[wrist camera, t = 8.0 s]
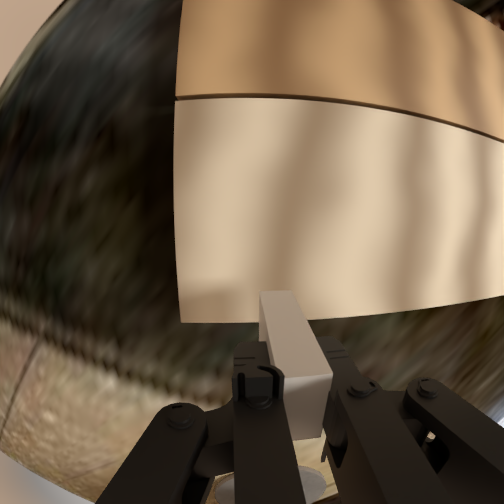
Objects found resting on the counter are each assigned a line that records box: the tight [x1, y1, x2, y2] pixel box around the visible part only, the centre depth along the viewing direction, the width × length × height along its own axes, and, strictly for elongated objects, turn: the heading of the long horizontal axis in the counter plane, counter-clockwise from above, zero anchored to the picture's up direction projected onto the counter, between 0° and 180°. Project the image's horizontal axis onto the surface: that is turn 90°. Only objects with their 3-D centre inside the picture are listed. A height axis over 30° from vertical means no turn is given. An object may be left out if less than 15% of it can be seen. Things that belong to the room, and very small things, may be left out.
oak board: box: [175, 0, 504, 143], centre depth 14 cm, size 28×12×2 cm, turn 90°
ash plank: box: [174, 98, 504, 323], centre depth 16 cm, size 28×12×2 cm, turn 90°
